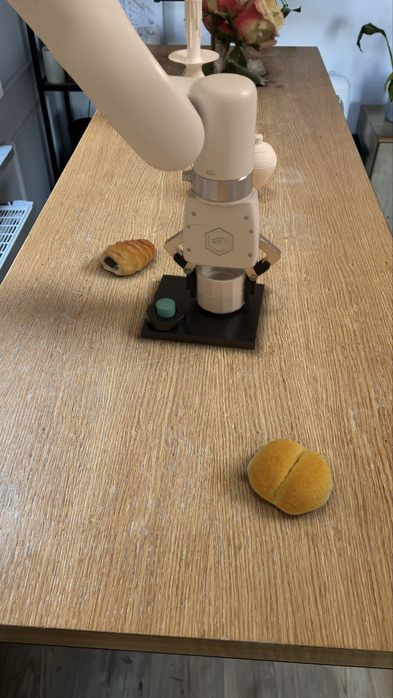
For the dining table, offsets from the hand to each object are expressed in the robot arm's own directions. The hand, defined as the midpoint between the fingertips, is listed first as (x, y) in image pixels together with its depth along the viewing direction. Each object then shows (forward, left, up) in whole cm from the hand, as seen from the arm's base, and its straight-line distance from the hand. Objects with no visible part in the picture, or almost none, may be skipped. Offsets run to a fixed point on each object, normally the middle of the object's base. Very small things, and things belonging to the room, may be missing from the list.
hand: (221, 294), depth 86 cm
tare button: (-7, -6, 0) cm, 9 cm away
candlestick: (-17, +68, -3) cm, 71 cm away
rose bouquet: (-15, +111, -3) cm, 113 cm away
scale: (-2, -2, -3) cm, 4 cm away
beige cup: (0, 0, -1) cm, 1 cm away
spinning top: (+1, +36, -3) cm, 37 cm away
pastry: (-17, +9, -3) cm, 20 cm away
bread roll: (+12, -30, -3) cm, 32 cm away
